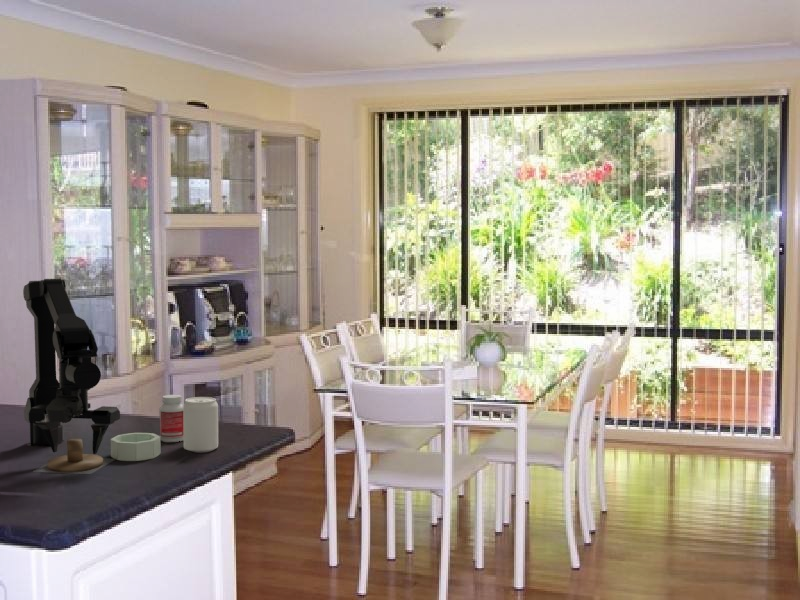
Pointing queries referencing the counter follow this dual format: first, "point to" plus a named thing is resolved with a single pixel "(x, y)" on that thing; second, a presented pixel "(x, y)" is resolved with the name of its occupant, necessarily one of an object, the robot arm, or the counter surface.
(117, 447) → the bowl
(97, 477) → the counter surface
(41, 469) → the mat
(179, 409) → the pill bottle
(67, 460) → the lid
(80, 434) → the counter surface
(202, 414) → the beverage can
